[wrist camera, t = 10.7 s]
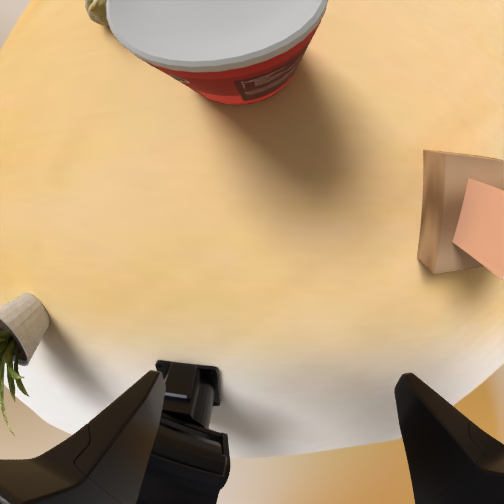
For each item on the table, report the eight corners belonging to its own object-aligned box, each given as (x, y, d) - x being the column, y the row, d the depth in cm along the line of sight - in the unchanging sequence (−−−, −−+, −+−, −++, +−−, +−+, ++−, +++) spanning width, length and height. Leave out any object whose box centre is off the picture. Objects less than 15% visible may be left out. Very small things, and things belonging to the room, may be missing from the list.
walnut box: (483, 247, 20) (503, 262, 17) (414, 255, 21) (434, 274, 18) (492, 157, 17) (516, 164, 14) (420, 149, 18) (445, 154, 14)
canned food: (187, 14, 14) (125, -64, 4) (299, 16, 14) (328, -76, 4) (178, 106, 17) (89, 83, 7) (294, 110, 17) (332, 77, 7)
